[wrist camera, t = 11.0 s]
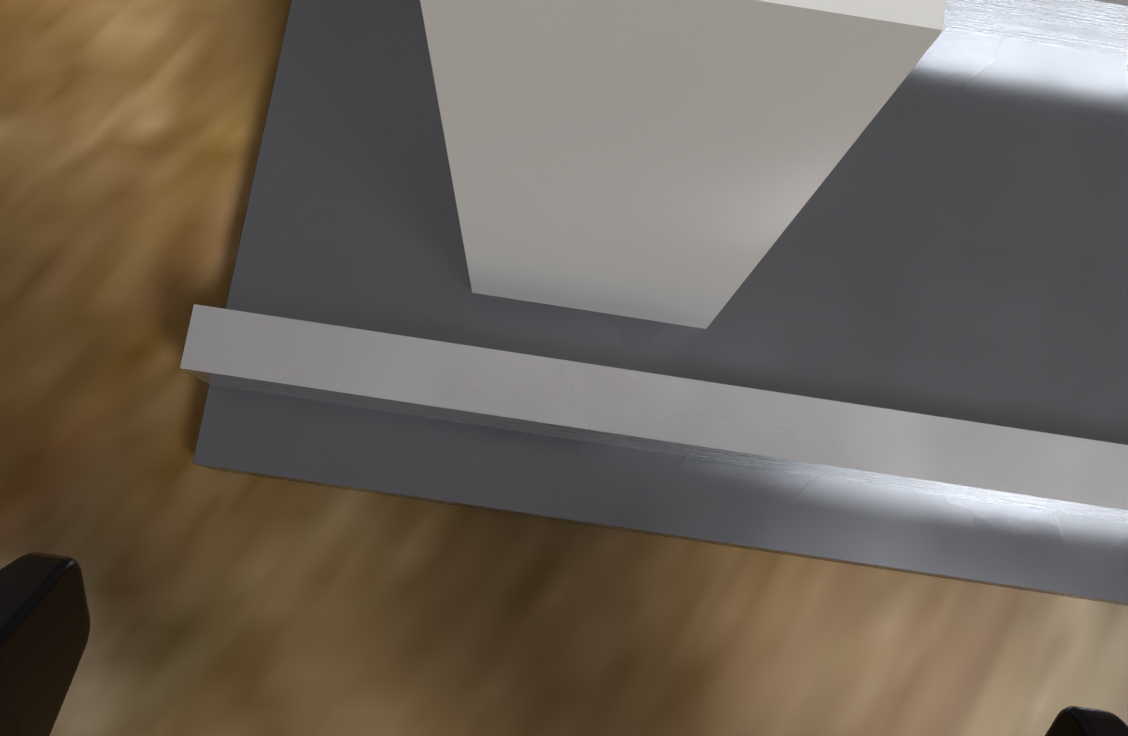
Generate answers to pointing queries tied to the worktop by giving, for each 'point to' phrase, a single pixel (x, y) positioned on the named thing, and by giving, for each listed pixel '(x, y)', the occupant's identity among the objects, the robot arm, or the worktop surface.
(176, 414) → the worktop surface
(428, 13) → the block
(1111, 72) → the rail plate
